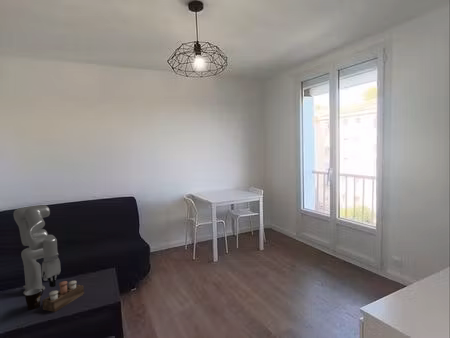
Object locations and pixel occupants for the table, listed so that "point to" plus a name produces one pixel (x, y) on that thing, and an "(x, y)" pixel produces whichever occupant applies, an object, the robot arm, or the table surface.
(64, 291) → the terracotta plug
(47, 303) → the socket block
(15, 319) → the table surface
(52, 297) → the cream plug
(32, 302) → the coffee mug
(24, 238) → the robot arm
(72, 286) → the cream plug
